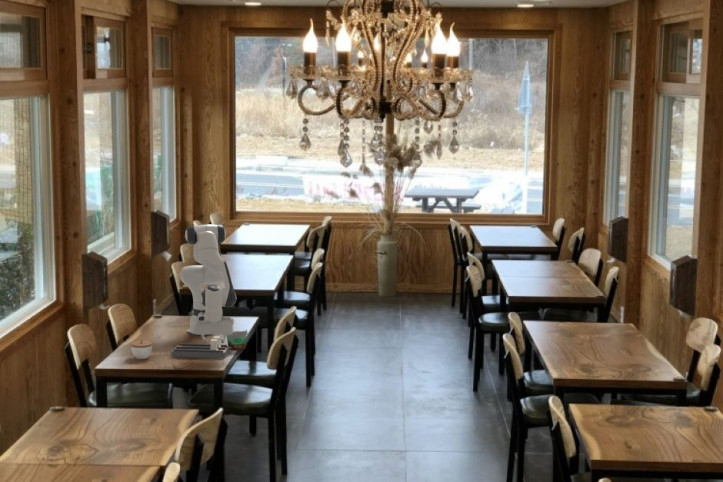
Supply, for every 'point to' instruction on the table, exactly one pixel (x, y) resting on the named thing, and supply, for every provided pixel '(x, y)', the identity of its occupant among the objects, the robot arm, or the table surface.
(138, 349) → the lidded jar
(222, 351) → the switch board
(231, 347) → the food container
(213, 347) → the tab
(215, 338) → the tab
